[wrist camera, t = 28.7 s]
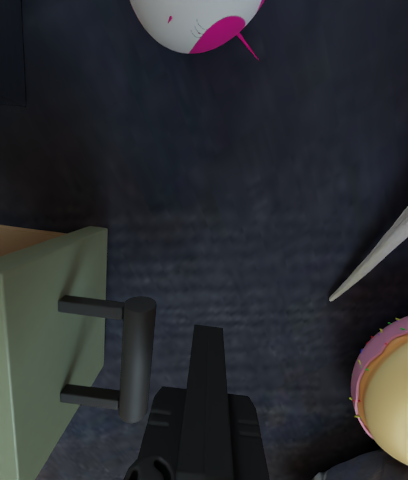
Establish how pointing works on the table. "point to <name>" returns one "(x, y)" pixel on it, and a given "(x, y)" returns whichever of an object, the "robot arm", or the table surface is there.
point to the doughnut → (384, 389)
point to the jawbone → (377, 253)
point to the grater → (11, 54)
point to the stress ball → (195, 22)
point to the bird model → (367, 468)
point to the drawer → (61, 341)
